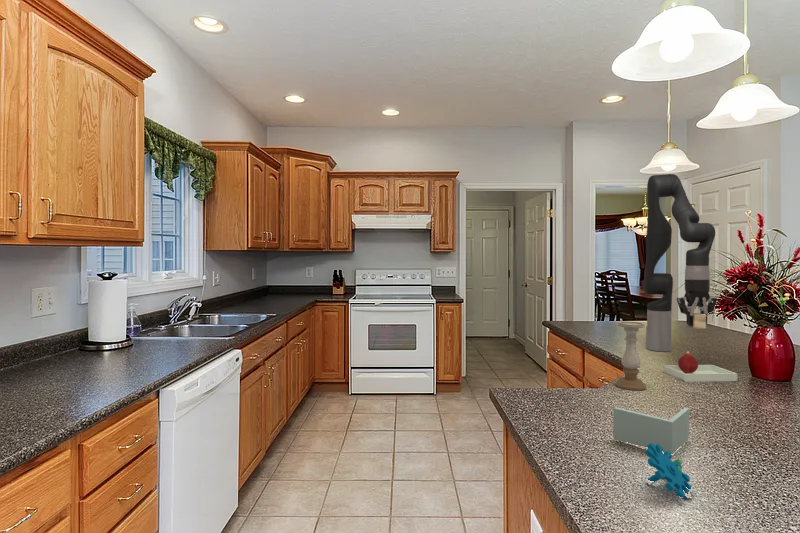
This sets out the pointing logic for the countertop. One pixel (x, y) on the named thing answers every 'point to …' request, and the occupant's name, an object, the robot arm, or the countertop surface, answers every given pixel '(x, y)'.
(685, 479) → the teal irregular piece
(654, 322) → the robot arm
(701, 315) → the maple block
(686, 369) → the pomegranate
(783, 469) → the countertop surface
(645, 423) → the right angle wall
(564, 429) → the countertop surface
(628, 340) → the candle holder
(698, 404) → the countertop surface
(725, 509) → the countertop surface
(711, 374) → the tray
